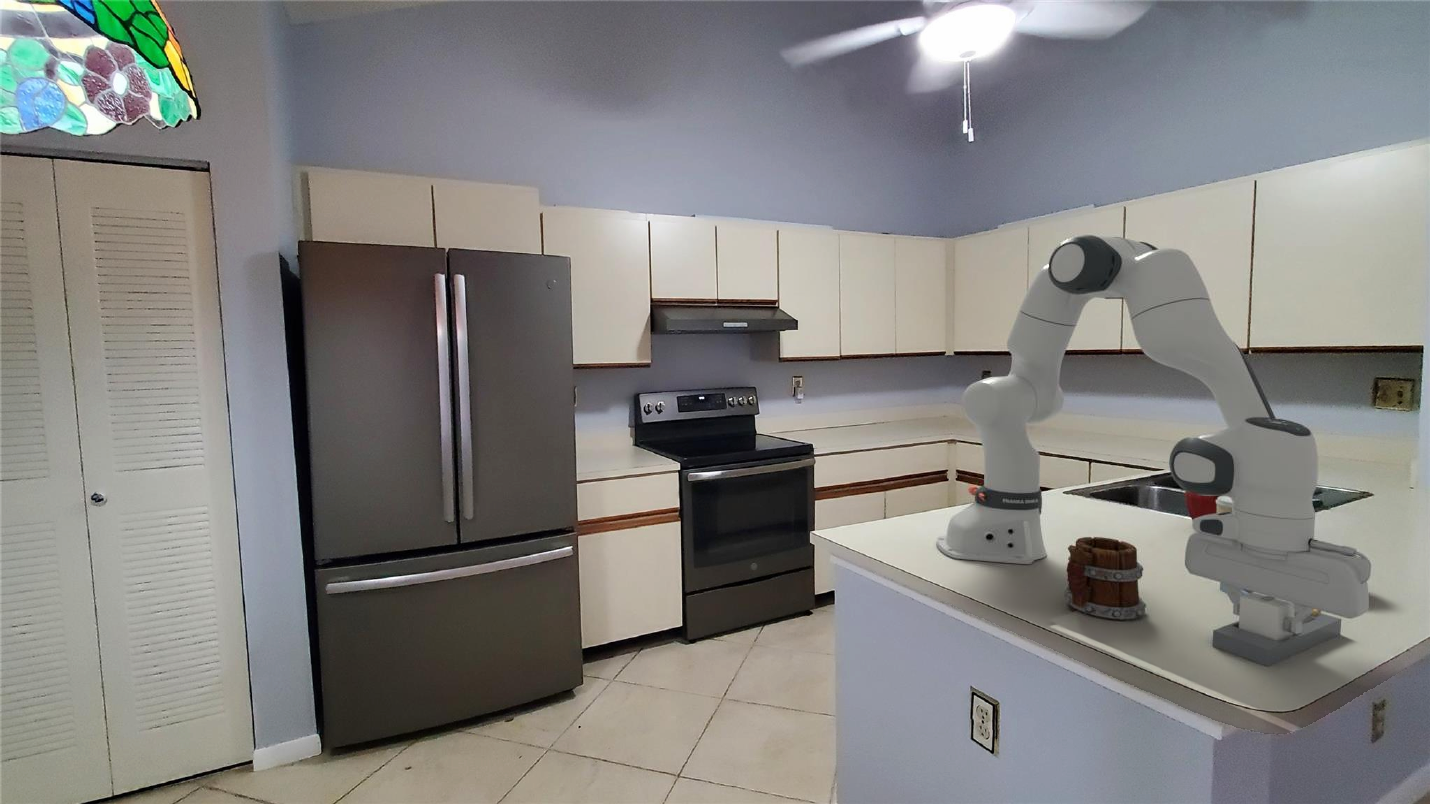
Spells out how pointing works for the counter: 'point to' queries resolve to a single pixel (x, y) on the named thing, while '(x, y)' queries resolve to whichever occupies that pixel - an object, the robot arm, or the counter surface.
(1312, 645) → the grey compartment box
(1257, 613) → the charger
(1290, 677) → the counter surface
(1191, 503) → the apple
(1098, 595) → the mug
